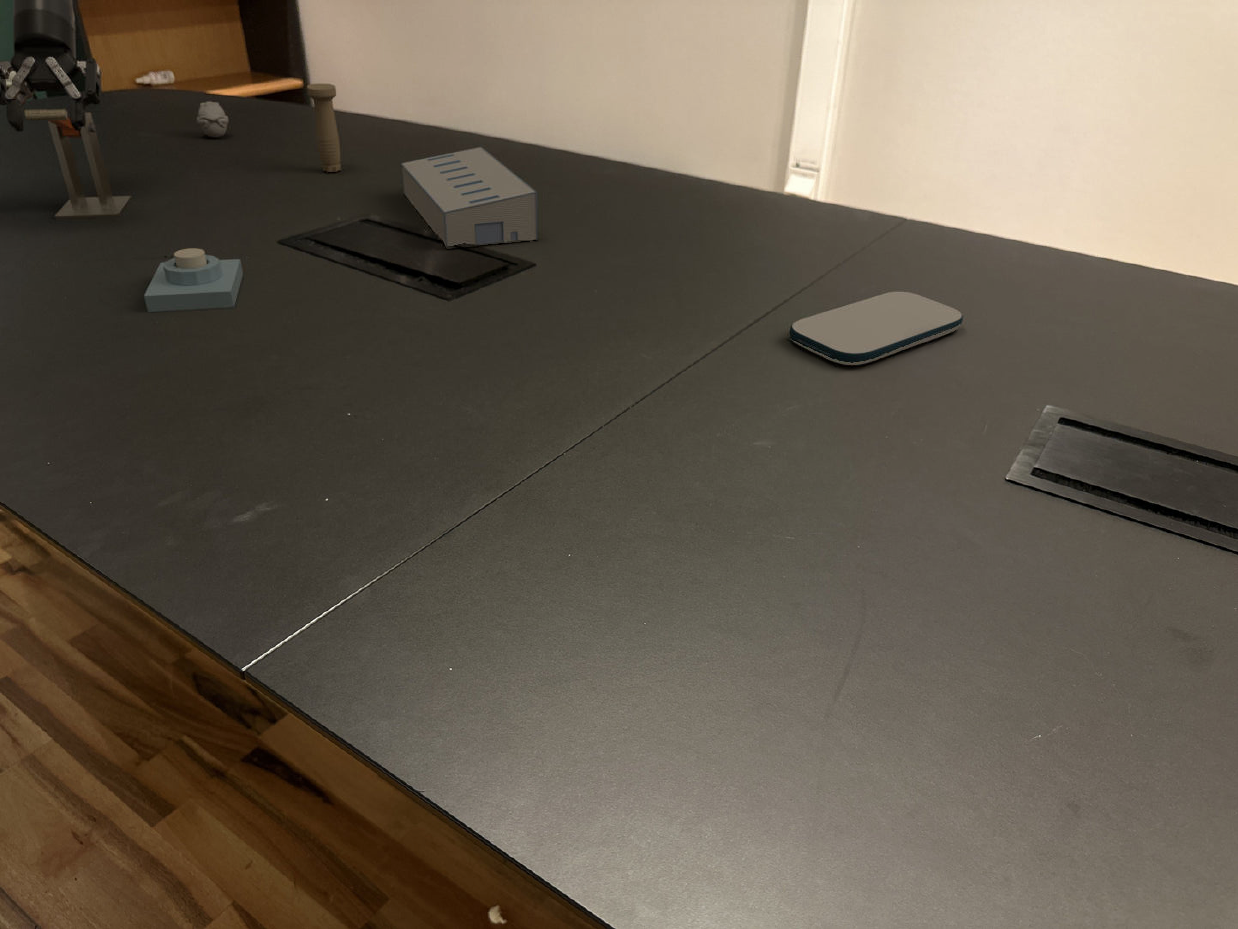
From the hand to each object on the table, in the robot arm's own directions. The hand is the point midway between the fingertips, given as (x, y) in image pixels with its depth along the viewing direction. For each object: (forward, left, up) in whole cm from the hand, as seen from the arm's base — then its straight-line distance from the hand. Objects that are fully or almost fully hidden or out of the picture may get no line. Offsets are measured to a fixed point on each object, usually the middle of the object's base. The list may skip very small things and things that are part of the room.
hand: (47, 127), depth 126 cm
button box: (+20, -26, -15) cm, 37 cm away
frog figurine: (+12, +65, -16) cm, 68 cm away
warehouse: (+58, +1, -16) cm, 60 cm away
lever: (0, +6, -2) cm, 7 cm away
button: (+20, -26, -12) cm, 35 cm away
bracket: (0, +12, -15) cm, 19 cm away
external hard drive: (+103, -54, -16) cm, 118 cm away
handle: (+36, +34, -16) cm, 52 cm away
